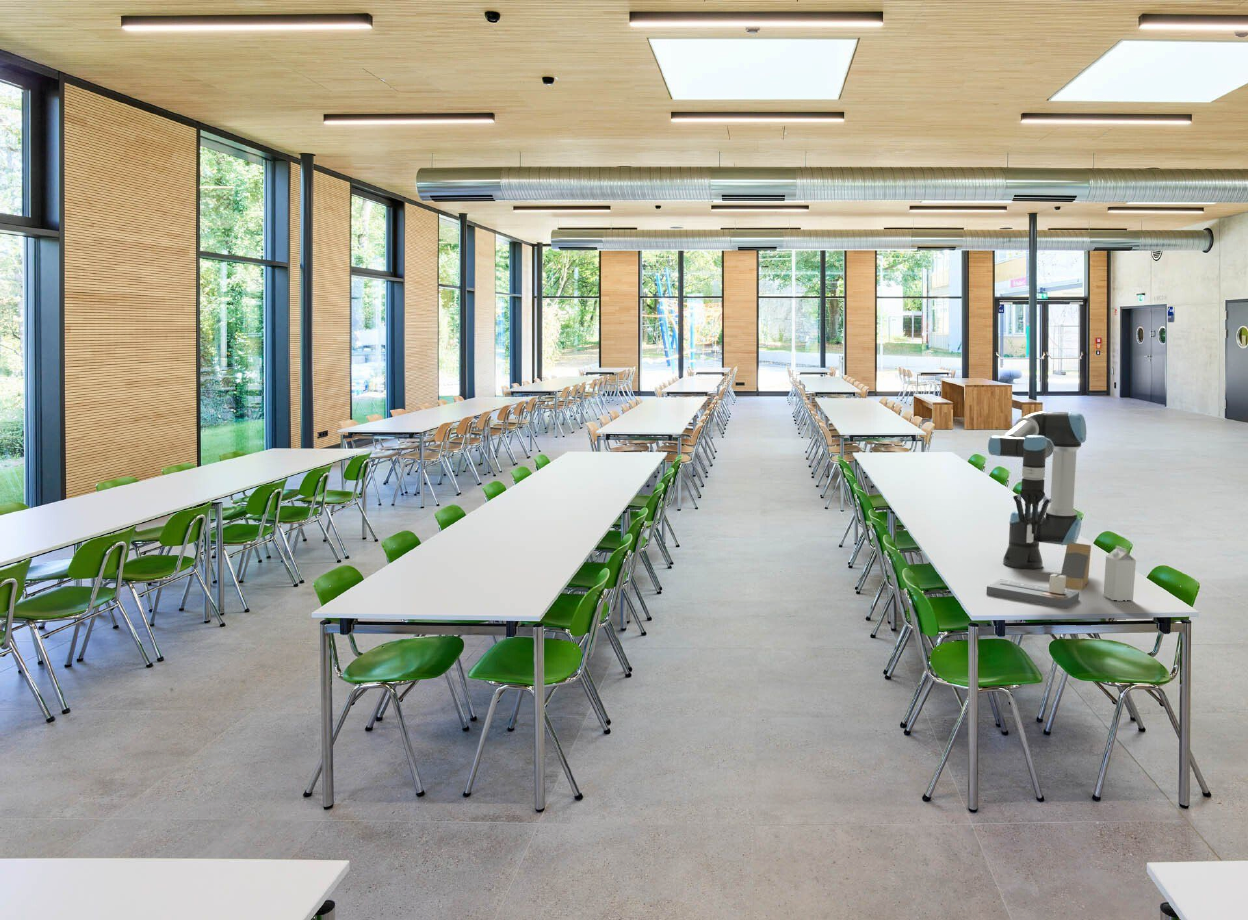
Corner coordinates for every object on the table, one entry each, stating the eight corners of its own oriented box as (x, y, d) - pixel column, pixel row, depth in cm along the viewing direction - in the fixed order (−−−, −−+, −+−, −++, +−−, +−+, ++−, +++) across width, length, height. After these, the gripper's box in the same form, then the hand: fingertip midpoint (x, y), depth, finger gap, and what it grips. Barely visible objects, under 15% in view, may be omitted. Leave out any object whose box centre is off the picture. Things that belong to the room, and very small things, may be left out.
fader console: (1000, 586, 359) (1000, 578, 358) (1078, 600, 340) (1079, 591, 340) (986, 594, 348) (986, 585, 348) (1066, 608, 330) (1067, 599, 329)
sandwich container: (1056, 587, 359) (1059, 548, 357) (1064, 579, 371) (1067, 541, 369) (1081, 590, 354) (1084, 551, 352) (1088, 582, 366) (1091, 544, 364)
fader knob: (1052, 589, 341) (1053, 573, 340) (1064, 591, 338) (1066, 575, 337) (1048, 591, 338) (1049, 575, 337) (1061, 594, 335) (1062, 577, 335)
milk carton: (1122, 595, 346) (1125, 545, 344) (1133, 601, 339) (1136, 549, 337) (1103, 596, 346) (1106, 545, 344) (1113, 601, 339) (1117, 549, 336)
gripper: (1011, 477, 341) (1007, 541, 345) (1048, 481, 333) (1044, 546, 336) (1018, 475, 347) (1015, 537, 350) (1055, 478, 338) (1051, 542, 342)
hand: (1029, 542), depth 343 cm, fingers closed
